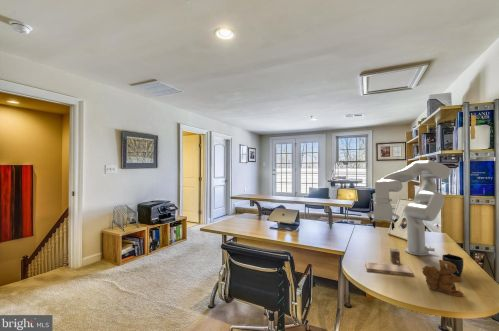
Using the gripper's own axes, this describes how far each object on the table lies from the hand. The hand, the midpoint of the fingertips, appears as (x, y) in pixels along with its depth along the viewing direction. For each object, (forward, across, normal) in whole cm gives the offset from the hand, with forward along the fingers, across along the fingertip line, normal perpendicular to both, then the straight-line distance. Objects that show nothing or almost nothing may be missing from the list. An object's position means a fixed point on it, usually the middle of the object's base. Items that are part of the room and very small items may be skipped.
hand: (383, 228), depth 148 cm
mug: (+19, -31, +7) cm, 37 cm away
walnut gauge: (+19, -6, +5) cm, 20 cm away
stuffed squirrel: (+19, -24, +28) cm, 42 cm away
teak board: (+19, -2, +16) cm, 25 cm away
